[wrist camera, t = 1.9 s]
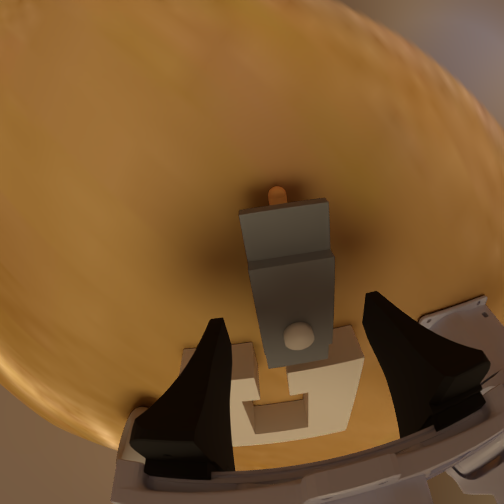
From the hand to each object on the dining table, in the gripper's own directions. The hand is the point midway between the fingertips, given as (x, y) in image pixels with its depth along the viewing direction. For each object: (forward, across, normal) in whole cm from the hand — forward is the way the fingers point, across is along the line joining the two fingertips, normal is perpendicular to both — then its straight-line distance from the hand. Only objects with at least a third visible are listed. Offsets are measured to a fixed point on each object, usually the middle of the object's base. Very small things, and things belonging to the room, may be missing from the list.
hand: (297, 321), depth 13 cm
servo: (+6, 0, 0) cm, 6 cm away
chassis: (+6, +2, +14) cm, 15 cm away
